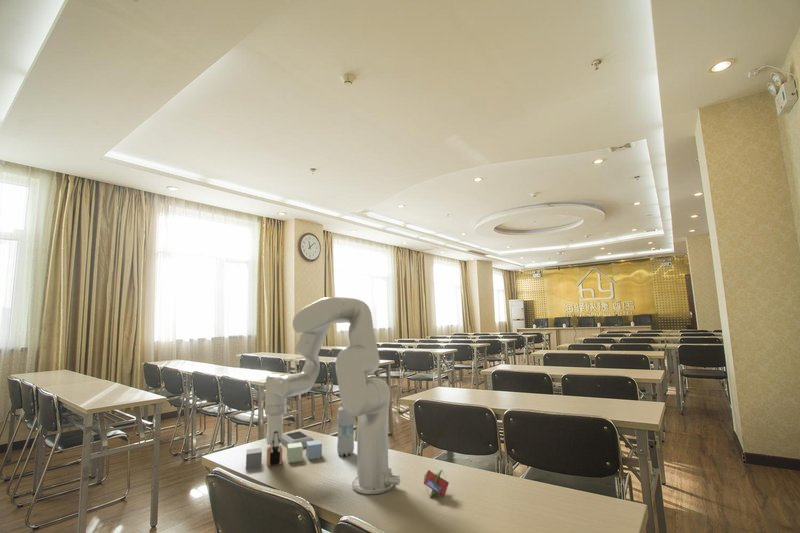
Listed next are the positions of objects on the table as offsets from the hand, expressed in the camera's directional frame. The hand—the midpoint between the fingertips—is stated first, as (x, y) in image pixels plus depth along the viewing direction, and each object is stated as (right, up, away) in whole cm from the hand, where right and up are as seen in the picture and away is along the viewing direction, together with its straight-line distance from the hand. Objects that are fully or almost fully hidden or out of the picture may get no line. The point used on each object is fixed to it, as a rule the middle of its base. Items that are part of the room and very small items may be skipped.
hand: (274, 460), depth 133 cm
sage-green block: (+7, -1, +2) cm, 7 cm away
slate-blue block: (+13, -1, +5) cm, 14 cm away
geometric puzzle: (+56, +4, -27) cm, 62 cm away
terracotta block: (0, -1, 0) cm, 1 cm away
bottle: (+25, -1, +7) cm, 26 cm away
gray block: (-6, 0, -3) cm, 7 cm away
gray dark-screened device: (+2, -4, +20) cm, 21 cm away
